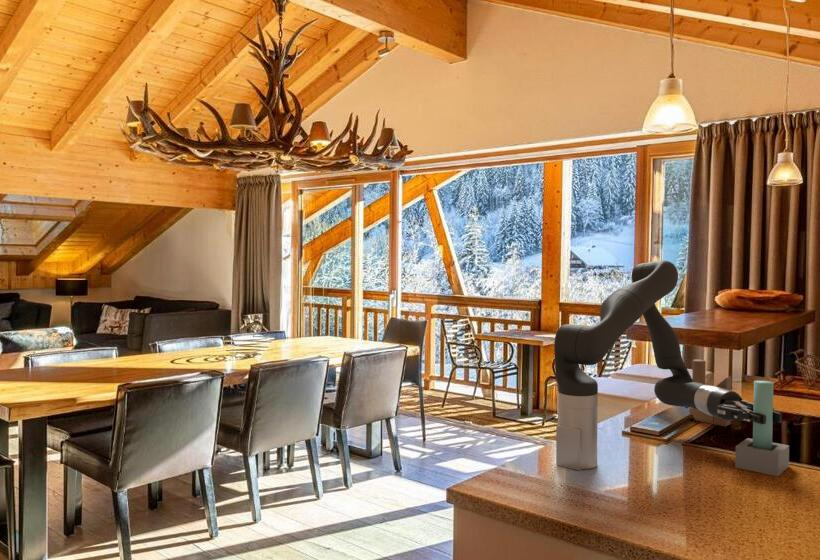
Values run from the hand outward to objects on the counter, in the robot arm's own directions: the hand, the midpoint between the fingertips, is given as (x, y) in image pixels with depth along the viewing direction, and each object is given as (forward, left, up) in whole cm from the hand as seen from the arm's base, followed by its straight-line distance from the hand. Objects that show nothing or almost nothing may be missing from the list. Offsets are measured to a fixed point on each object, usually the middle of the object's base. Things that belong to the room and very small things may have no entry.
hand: (772, 419), depth 149 cm
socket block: (+1, +2, -12) cm, 12 cm away
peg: (+1, +2, -10) cm, 10 cm away
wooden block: (+34, +25, -12) cm, 44 cm away
